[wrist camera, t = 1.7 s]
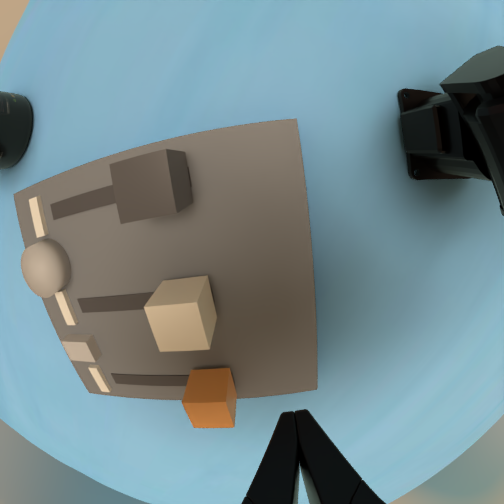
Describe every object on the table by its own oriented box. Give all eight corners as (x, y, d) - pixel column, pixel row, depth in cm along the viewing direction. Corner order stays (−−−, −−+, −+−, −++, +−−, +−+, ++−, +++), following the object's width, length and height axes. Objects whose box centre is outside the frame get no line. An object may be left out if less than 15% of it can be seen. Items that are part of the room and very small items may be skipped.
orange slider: (229, 367, 19) (225, 402, 16) (236, 394, 20) (234, 427, 17) (191, 369, 19) (181, 402, 16) (200, 395, 20) (194, 427, 17)
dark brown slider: (184, 151, 15) (165, 148, 11) (193, 202, 16) (176, 213, 12) (137, 162, 15) (109, 164, 11) (146, 211, 16) (120, 224, 12)
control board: (293, 122, 16) (302, 112, 12) (314, 377, 22) (321, 406, 19) (24, 191, 17) (-3, 198, 14) (94, 383, 23) (81, 405, 20)
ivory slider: (207, 275, 17) (196, 302, 14) (217, 317, 18) (209, 349, 15) (162, 280, 17) (143, 306, 14) (174, 320, 18) (159, 351, 15)
